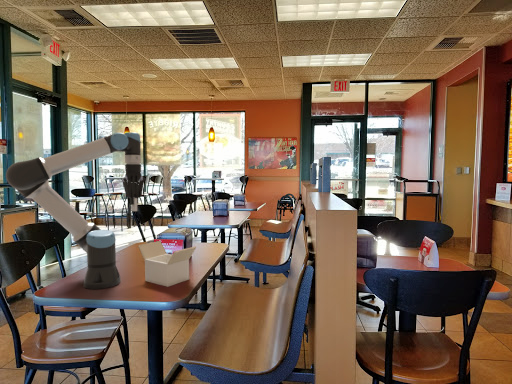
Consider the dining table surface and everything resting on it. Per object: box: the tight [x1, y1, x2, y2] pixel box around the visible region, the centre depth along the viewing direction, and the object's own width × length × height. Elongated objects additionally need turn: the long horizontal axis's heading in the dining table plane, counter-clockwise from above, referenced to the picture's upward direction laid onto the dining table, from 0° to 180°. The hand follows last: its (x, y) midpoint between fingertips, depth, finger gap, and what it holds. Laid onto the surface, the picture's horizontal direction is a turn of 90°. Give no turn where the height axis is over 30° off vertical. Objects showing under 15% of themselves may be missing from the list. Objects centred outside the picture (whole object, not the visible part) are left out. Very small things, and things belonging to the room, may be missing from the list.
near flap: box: [167, 245, 197, 265], centre depth 157 cm, size 13×8×1 cm
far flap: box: [137, 241, 168, 261], centre depth 169 cm, size 13×8×1 cm
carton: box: [144, 253, 190, 288], centre depth 163 cm, size 13×15×10 cm
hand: (134, 210), depth 179 cm, fingers closed
